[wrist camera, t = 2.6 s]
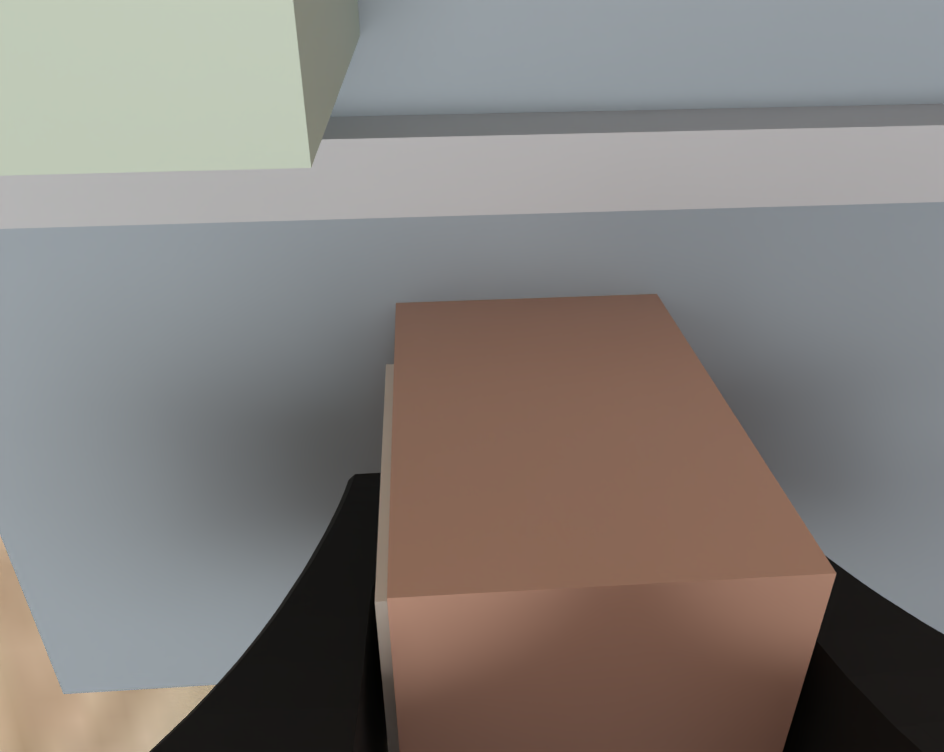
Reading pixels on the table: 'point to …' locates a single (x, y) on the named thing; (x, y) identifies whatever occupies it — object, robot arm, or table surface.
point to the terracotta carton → (581, 540)
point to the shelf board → (475, 296)
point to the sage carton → (169, 83)
